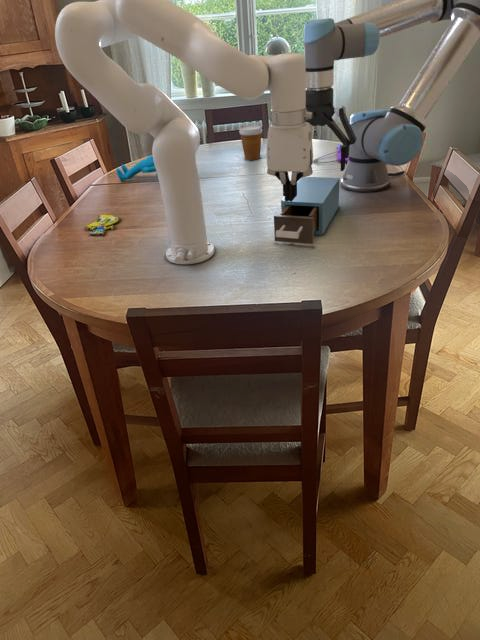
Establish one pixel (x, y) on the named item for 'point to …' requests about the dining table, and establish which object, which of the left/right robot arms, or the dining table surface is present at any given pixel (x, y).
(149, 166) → the toy
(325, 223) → the blue drawer cabinet
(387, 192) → the dining table surface
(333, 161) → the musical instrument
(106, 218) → the toy
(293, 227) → the drawer
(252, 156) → the disposable coffee cup
